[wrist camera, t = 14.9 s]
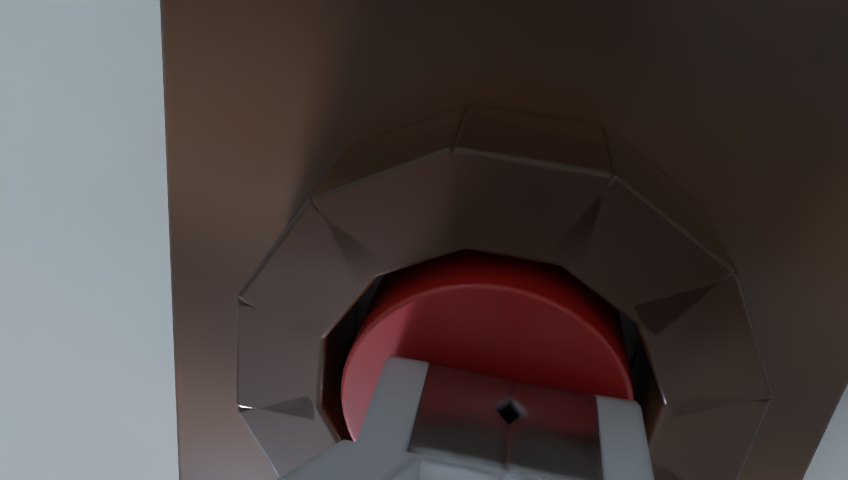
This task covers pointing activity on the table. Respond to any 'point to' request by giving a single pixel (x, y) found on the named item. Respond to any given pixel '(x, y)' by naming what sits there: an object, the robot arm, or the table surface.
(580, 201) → the button block
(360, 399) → the button
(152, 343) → the table surface
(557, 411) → the robot arm
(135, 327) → the table surface
